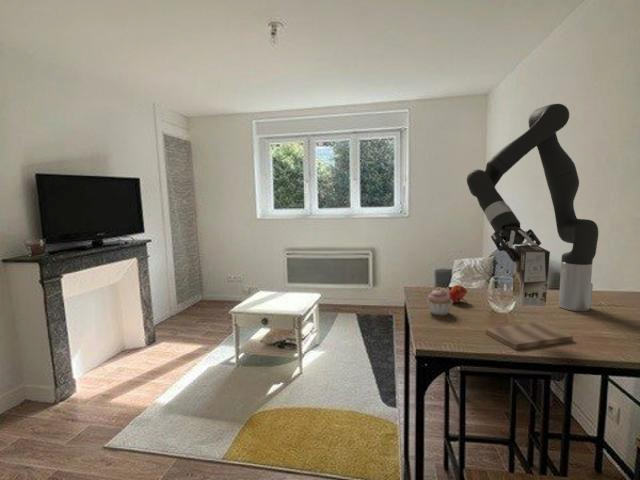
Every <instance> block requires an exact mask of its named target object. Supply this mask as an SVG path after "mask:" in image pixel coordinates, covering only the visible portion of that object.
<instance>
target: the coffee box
mask: <svg viewBox="0 0 640 480" xmlns="http://www.w3.org/2000/svg"><path fill="white" fill-rule="evenodd" d="M514 249H515V251H516V252H517V254H518V256H519V260H518V261H517V262H513V277H512V281H513V282H512V297H514V298H515V299H516V300H517V302H519V303H520V305H522V306H527V307H529V306H532V307H546V304H547V292H548V278H549V269H550V256H551V255H550V254H551V252H550V251H549V250H547V249H545V248H543V247H541V246H540V245H539V246H537V245H531V244H528V245H524V246H521V245H514Z"/></svg>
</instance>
